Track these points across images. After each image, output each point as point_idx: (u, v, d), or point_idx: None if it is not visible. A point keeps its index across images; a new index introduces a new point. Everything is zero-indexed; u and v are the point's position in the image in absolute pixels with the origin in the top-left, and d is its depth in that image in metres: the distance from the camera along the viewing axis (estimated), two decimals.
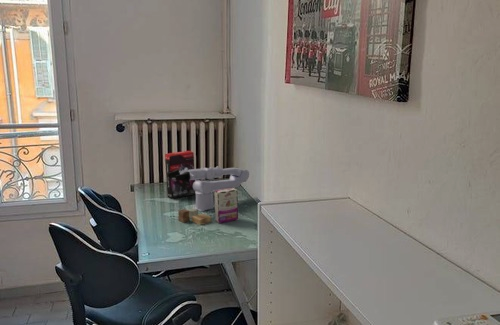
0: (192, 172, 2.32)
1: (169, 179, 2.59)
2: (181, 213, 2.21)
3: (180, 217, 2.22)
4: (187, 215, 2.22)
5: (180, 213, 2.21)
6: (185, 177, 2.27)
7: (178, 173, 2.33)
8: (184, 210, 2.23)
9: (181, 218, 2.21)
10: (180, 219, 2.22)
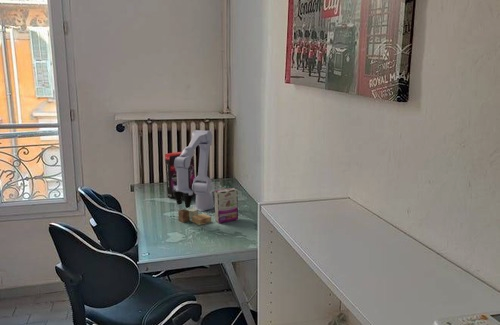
0: (182, 185, 2.17)
1: (169, 179, 2.59)
2: (181, 213, 2.21)
3: (180, 217, 2.22)
4: (187, 215, 2.22)
5: (180, 213, 2.21)
6: (188, 197, 2.18)
7: (178, 192, 2.23)
8: (184, 210, 2.23)
9: (181, 218, 2.21)
10: (180, 219, 2.22)
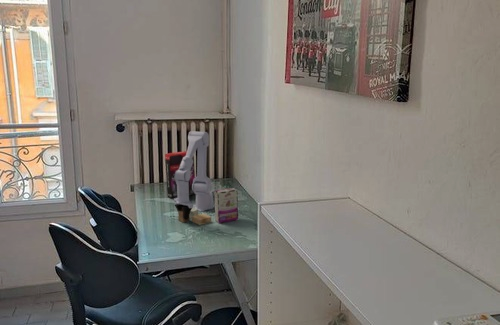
0: (182, 198, 2.18)
1: (169, 179, 2.59)
2: (181, 213, 2.21)
3: (180, 217, 2.22)
4: None
5: (180, 213, 2.21)
6: (187, 209, 2.20)
7: (180, 205, 2.23)
8: None
9: (181, 218, 2.21)
10: (180, 219, 2.22)
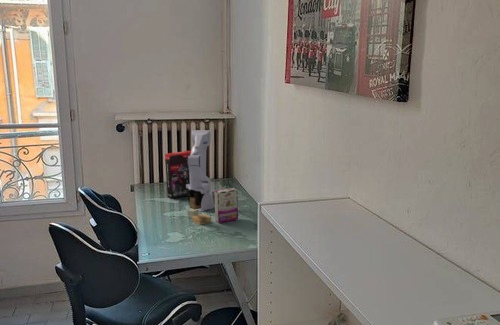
0: (195, 184, 2.16)
1: (169, 179, 2.59)
2: (193, 200, 2.18)
3: (192, 204, 2.20)
4: None
5: (192, 200, 2.19)
6: (199, 194, 2.18)
7: (192, 191, 2.21)
8: None
9: (193, 205, 2.19)
10: (192, 206, 2.20)
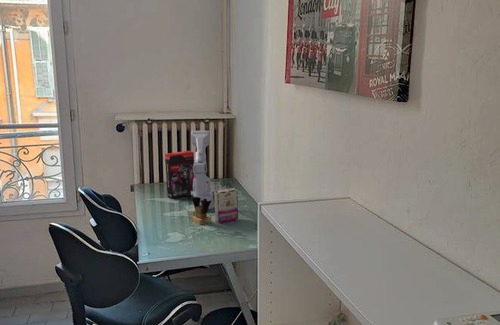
0: (200, 191, 2.16)
1: (169, 179, 2.59)
2: (199, 209, 2.19)
3: (197, 213, 2.20)
4: None
5: (197, 209, 2.19)
6: (206, 202, 2.17)
7: (196, 198, 2.22)
8: (201, 206, 2.21)
9: (198, 214, 2.19)
10: (197, 215, 2.20)
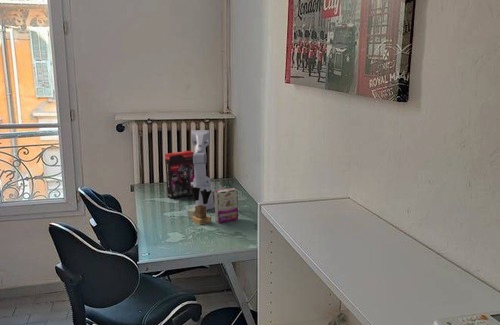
0: (200, 181, 2.15)
1: (169, 179, 2.59)
2: (198, 209, 2.19)
3: (197, 213, 2.20)
4: (204, 211, 2.20)
5: (197, 209, 2.20)
6: (206, 193, 2.16)
7: (195, 188, 2.21)
8: (201, 206, 2.21)
9: (198, 214, 2.20)
10: (197, 215, 2.20)
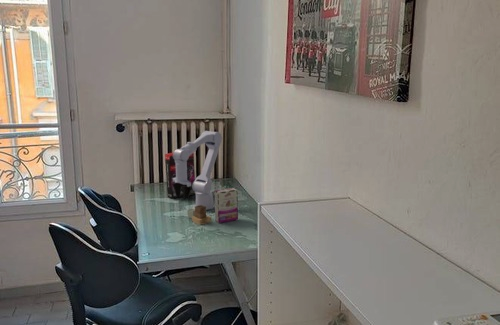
0: (181, 177, 2.24)
1: (169, 179, 2.59)
2: (198, 209, 2.19)
3: (197, 213, 2.20)
4: (204, 211, 2.20)
5: (197, 209, 2.20)
6: (186, 188, 2.25)
7: (177, 184, 2.30)
8: (201, 206, 2.21)
9: (198, 214, 2.20)
10: (197, 215, 2.20)
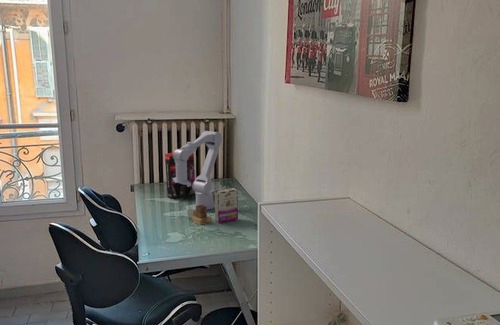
0: (181, 177, 2.24)
1: (169, 179, 2.59)
2: (199, 209, 2.19)
3: (197, 213, 2.21)
4: (204, 211, 2.21)
5: (198, 209, 2.20)
6: (186, 188, 2.25)
7: (177, 184, 2.30)
8: (201, 206, 2.22)
9: (198, 214, 2.20)
10: (197, 215, 2.21)
